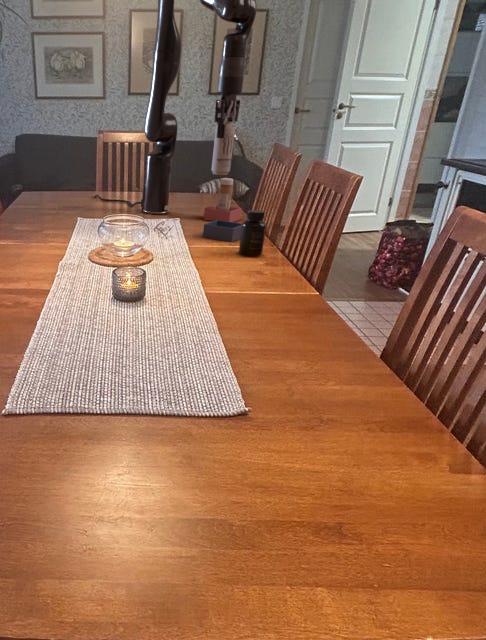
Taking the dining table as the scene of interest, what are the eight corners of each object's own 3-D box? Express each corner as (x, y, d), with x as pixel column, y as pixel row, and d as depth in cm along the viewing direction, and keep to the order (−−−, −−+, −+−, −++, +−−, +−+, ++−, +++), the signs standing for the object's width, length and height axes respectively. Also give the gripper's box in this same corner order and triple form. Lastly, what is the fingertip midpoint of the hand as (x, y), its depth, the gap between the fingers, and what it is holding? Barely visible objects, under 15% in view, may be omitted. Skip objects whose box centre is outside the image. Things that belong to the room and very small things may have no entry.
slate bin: (202, 237, 193) (204, 224, 191) (215, 232, 201) (217, 219, 198) (231, 241, 189) (233, 228, 186) (243, 236, 196) (245, 224, 194)
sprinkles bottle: (230, 218, 220) (236, 178, 213) (223, 219, 218) (228, 179, 210) (220, 216, 223) (225, 177, 216) (213, 217, 220) (218, 178, 213)
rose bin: (203, 219, 219) (204, 207, 217) (215, 215, 227) (216, 204, 224) (229, 223, 215) (230, 211, 212) (239, 219, 222) (241, 208, 220)
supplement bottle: (263, 253, 177) (271, 210, 170) (258, 258, 171) (265, 214, 165) (241, 250, 179) (247, 208, 173) (235, 255, 174) (241, 211, 167)
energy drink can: (217, 175, 191) (222, 122, 184) (207, 173, 196) (213, 121, 188) (233, 174, 193) (239, 122, 186) (223, 172, 198) (229, 121, 190)
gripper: (229, 76, 187) (222, 136, 196) (210, 74, 177) (204, 137, 186) (251, 76, 184) (243, 137, 193) (233, 74, 174) (226, 139, 182)
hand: (224, 137), depth 189 cm, fingers closed on energy drink can, 6 cm apart
